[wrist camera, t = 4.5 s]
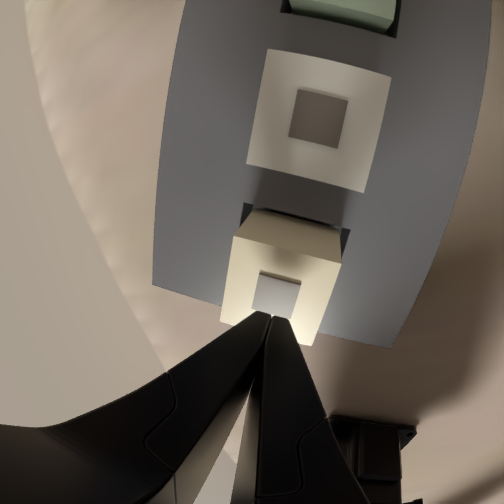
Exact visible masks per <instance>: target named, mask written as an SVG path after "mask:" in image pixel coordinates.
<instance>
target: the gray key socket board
mask: <svg viewBox="0 0 504 504" xmlns="http://www.w3.org/2000/svg"><path fill="white" fill-rule="evenodd" d="M491 4H492V0H396V6H395V13H394V20H393V22H392V23H391V25H390V26H389V27H388V29H387V30H386V32H385V33H384V34H383V35H382V34H379V33H375V32H372V31H368V30H365V29H361V28H357V27H353V26H349V25H345V24H341V23H336V22H332V21H327V20H322V19H317V18H312V17H306V16H300V15H294V13H293V10H292V7H291V4H290V2H289V0H186V2H185V6H184V10H183V15H182V19H181V24H180V29H179V33H178V38H177V43H176V49H175V54H174V59H173V65H172V71H171V77H170V83H169V89H168V96H167V102H166V109H165V117H164V124H163V133H162V141H161V150H160V159H159V170H158V181H157V193H156V207H155V223H154V244H153V277H152V285H155V286H158V287H161V288H164V289H167V290H170V291H173V292H176V293H180V294H183V295H186V296H189V297H192V298H196V299H199V300H202V301H206V302H209V303H212V304H216V305H219V306H222V304H223V298H224V292H225V285H226V279H227V273H228V267H229V260H230V254H231V248H232V242H233V236H234V235H235V233H236V232H237V231H238V229H239V228H240V227H241V225H242V224H243V223H244V221H245V220H246V219H247V217H248V216H249V215H250V213H251V212H252V211H253V209H254V208H258V209H262V210H266V211H270V212H274V213H278V214H282V215H286V216H290V217H294V218H298V219H302V220H306V221H310V222H313V223H317V224H321V225H325V226H329V227H332V228H336V229H339V235H340V248H341V262H342V264H341V267H340V270H339V273H338V276H337V279H336V282H335V285H334V288H333V290H332V293H331V296H330V299H329V302H328V304H327V307H326V310H325V312H324V315H323V318H322V320H321V323H320V326H319V328H318V331H317V332H318V333H323V334H327V335H331V336H335V337H339V338H343V339H348V340H352V341H356V342H361V343H365V344H370V345H374V346H379V347H383V348H388V349H390V348H391V346H392V345H393V343H394V341H395V339H396V337H397V335H398V334H399V332H400V330H401V328H402V326H403V324H404V322H405V320H406V318H407V316H408V314H409V312H410V310H411V308H412V306H413V304H414V302H415V300H416V298H417V296H418V294H419V292H420V289H421V287H422V285H423V283H424V281H425V278H426V276H427V274H428V272H429V269H430V267H431V265H432V262H433V260H434V257H435V255H436V253H437V250H438V248H439V245H440V243H441V240H442V237H443V235H444V232H445V229H446V227H447V224H448V221H449V219H450V216H451V213H452V210H453V207H454V204H455V201H456V198H457V195H458V192H459V189H460V186H461V182H462V179H463V176H464V172H465V169H466V165H467V162H468V158H469V154H470V150H471V146H472V142H473V138H474V134H475V130H476V125H477V121H478V116H479V111H480V106H481V100H482V95H483V89H484V83H485V76H486V69H487V61H488V52H489V41H490V28H491ZM268 49H273V50H280V51H286V52H292V53H297V54H303V55H308V56H313V57H318V58H322V59H327V60H331V61H335V62H339V63H343V64H347V65H351V66H355V67H359V68H362V69H366V70H369V71H373V72H376V73H379V74H383V75H386V76H389V77H391V82H390V87H389V92H388V97H387V102H386V106H385V111H384V115H383V120H382V124H381V128H380V133H379V137H378V141H377V145H376V149H375V153H374V157H373V161H372V164H371V168H370V172H369V176H368V179H367V183H366V186H365V190H364V193H361V192H358V191H354V190H351V189H347V188H343V187H340V186H336V185H332V184H329V183H325V182H321V181H317V180H313V179H309V178H305V177H301V176H297V175H293V174H289V173H285V172H280V171H276V170H272V169H267V168H263V167H258V166H254V165H249V164H246V161H247V156H248V150H249V144H250V139H251V134H252V128H253V123H254V117H255V112H256V107H257V101H258V96H259V91H260V86H261V80H262V75H263V70H264V65H265V60H266V55H267V50H268Z"/></svg>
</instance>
